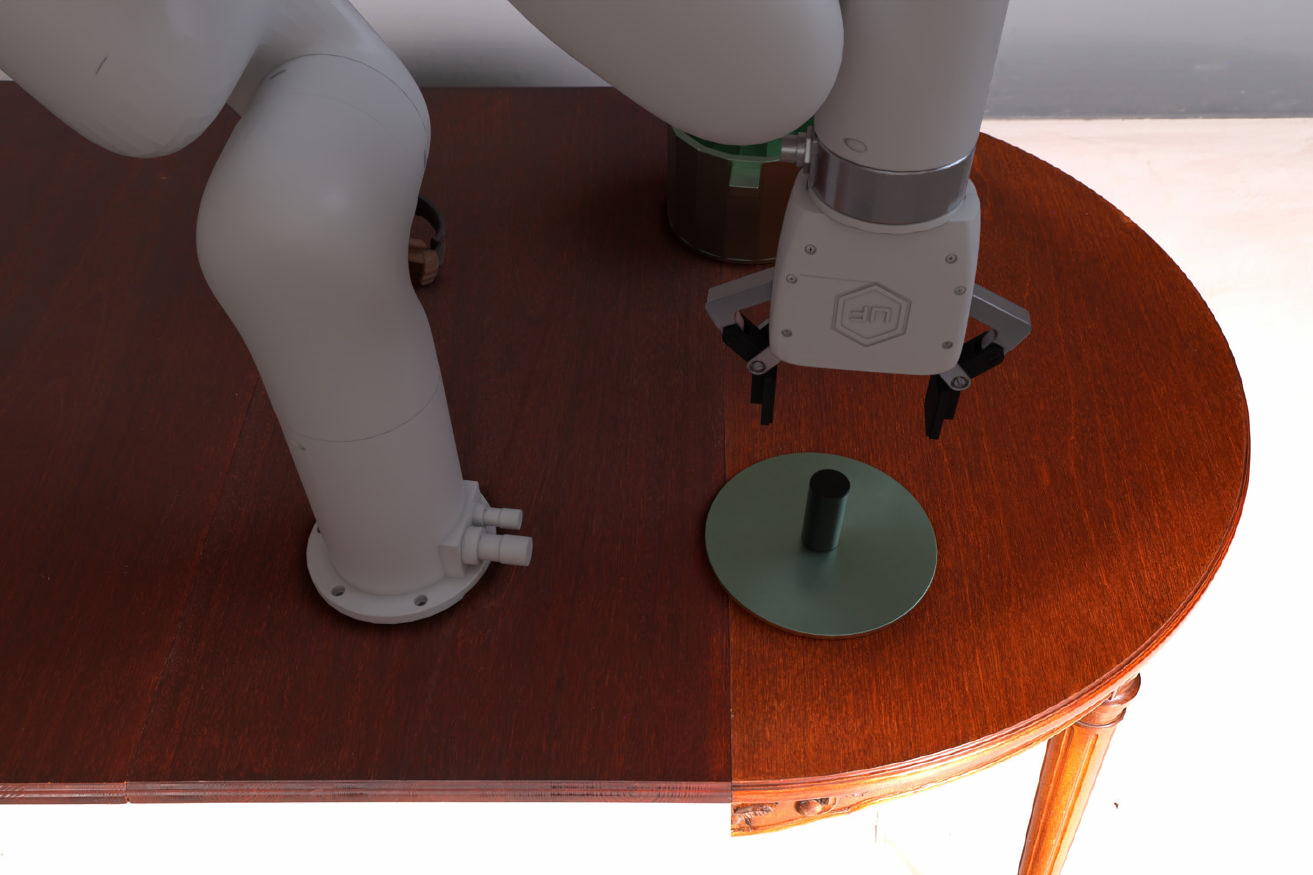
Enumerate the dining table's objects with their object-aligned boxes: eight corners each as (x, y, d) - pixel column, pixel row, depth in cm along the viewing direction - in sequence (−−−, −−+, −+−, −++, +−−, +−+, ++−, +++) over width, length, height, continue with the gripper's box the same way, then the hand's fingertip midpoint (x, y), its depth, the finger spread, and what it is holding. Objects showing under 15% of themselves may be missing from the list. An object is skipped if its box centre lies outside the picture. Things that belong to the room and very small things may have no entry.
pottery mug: (368, 230, 97) (400, 163, 92) (443, 298, 97) (478, 235, 92) (275, 272, 88) (305, 201, 83) (358, 347, 88) (392, 280, 83)
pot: (826, 165, 104) (840, 65, 97) (820, 290, 91) (835, 186, 83) (681, 154, 106) (683, 55, 98) (654, 276, 92) (653, 172, 84)
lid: (929, 473, 76) (948, 409, 71) (939, 658, 65) (962, 598, 61) (716, 452, 77) (720, 387, 73) (692, 629, 67) (694, 568, 62)
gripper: (700, 197, 48) (697, 449, 61) (1088, 221, 46) (1003, 475, 59) (716, 114, 53) (710, 362, 66) (1066, 132, 51) (992, 384, 64)
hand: (848, 415), depth 62 cm, fingers open, 9 cm apart
